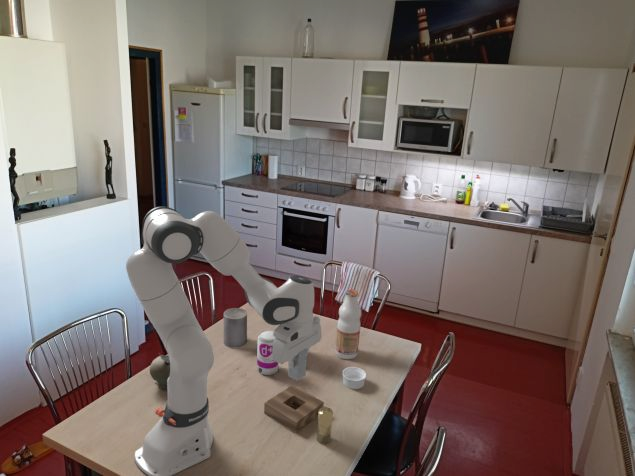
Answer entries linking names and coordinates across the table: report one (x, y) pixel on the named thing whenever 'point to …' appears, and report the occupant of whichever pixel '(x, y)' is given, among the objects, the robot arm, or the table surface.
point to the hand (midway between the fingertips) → (297, 363)
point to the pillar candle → (235, 327)
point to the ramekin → (354, 377)
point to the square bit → (299, 366)
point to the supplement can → (266, 353)
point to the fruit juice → (348, 327)
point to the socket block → (289, 417)
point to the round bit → (324, 425)
